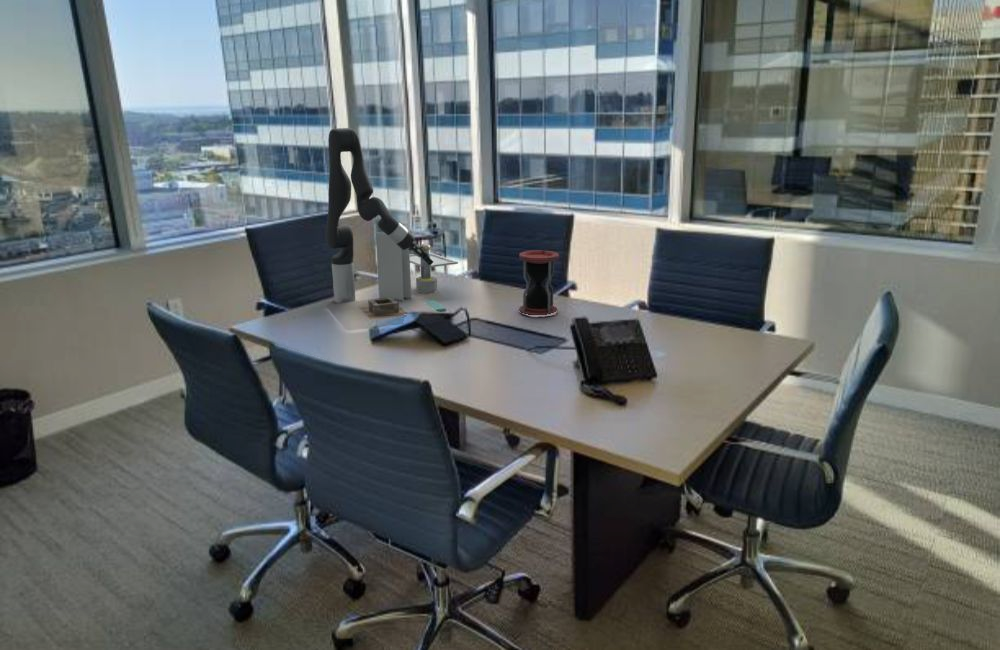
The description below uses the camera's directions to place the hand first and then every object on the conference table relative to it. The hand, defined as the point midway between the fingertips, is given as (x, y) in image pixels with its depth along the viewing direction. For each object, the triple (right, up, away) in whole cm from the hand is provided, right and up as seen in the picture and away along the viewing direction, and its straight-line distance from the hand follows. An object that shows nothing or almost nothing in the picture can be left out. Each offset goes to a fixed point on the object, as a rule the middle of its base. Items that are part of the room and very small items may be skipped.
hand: (429, 262), depth 289 cm
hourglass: (+46, -21, -1) cm, 50 cm away
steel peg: (-2, -6, +1) cm, 7 cm away
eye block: (-19, -22, -3) cm, 29 cm away
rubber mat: (-2, -19, +5) cm, 20 cm away
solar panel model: (-4, -10, +36) cm, 37 cm away
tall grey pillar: (-17, -15, +19) cm, 30 cm away
